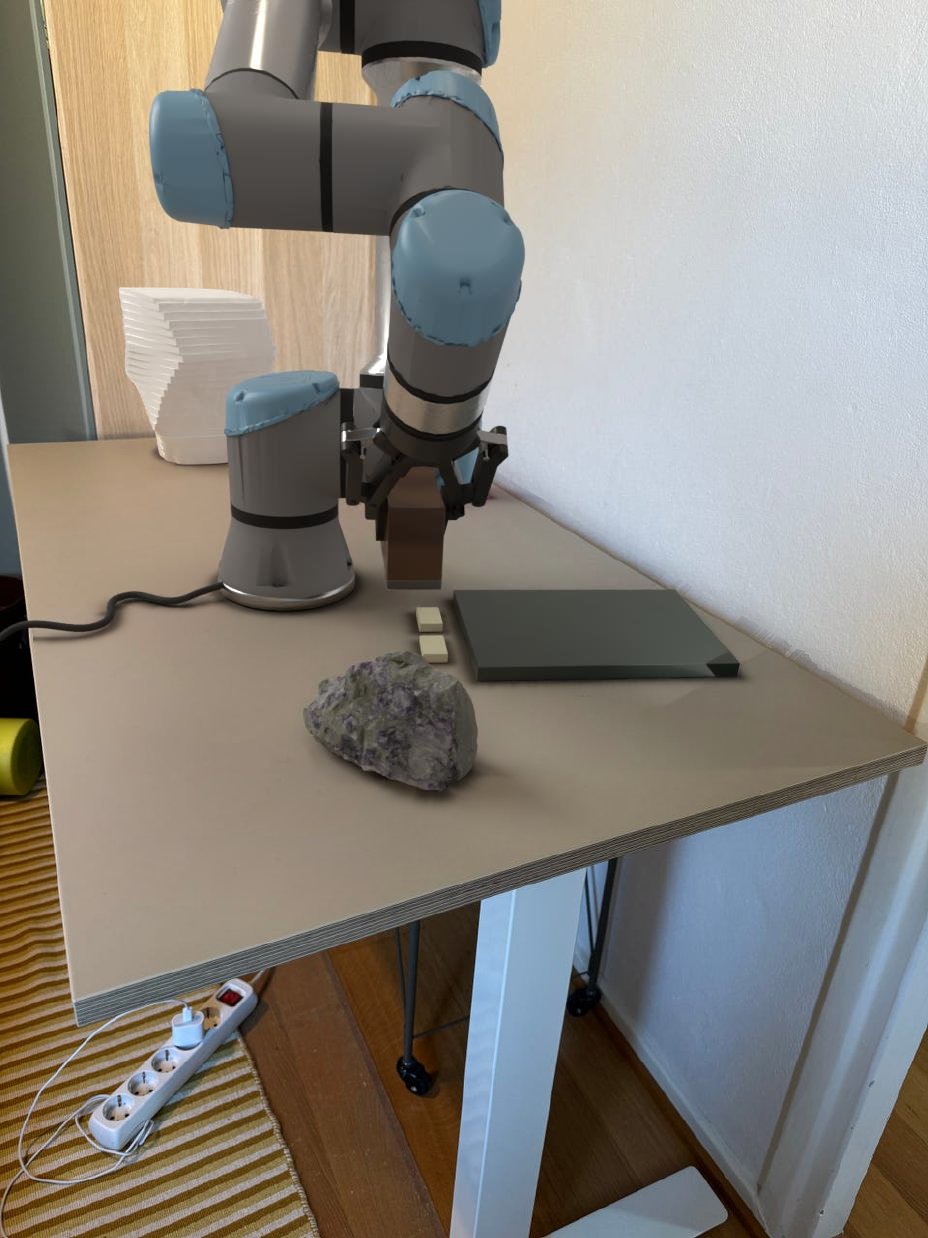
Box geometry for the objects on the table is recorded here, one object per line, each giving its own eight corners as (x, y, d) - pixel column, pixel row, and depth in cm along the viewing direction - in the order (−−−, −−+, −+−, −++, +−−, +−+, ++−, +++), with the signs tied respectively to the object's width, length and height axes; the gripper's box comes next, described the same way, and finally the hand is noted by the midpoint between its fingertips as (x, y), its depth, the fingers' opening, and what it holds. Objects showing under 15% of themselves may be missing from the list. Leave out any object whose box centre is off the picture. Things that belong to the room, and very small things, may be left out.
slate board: (737, 676, 86) (740, 663, 85) (477, 681, 82) (478, 667, 81) (673, 600, 102) (675, 589, 101) (452, 601, 98) (453, 589, 97)
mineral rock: (296, 735, 72) (293, 625, 68) (407, 702, 78) (411, 599, 73) (373, 822, 62) (376, 701, 58) (494, 777, 68) (504, 664, 64)
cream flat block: (423, 653, 84) (423, 663, 84) (448, 653, 84) (447, 662, 85) (419, 635, 88) (419, 644, 88) (443, 635, 88) (442, 643, 88)
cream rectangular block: (419, 623, 90) (419, 632, 90) (442, 623, 90) (442, 631, 91) (416, 607, 94) (415, 615, 94) (438, 607, 94) (438, 615, 94)
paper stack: (129, 444, 149) (112, 283, 138) (284, 436, 160) (280, 287, 149) (146, 478, 132) (128, 299, 121) (319, 467, 143) (316, 301, 132)
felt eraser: (441, 589, 80) (445, 507, 77) (386, 590, 79) (388, 506, 76) (427, 537, 92) (430, 463, 88) (379, 537, 91) (380, 462, 87)
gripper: (551, 353, 66) (497, 495, 87) (308, 343, 63) (314, 492, 85) (560, 440, 63) (502, 564, 85) (307, 434, 60) (314, 563, 82)
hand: (408, 528), depth 85 cm, fingers closed on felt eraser, 5 cm apart
